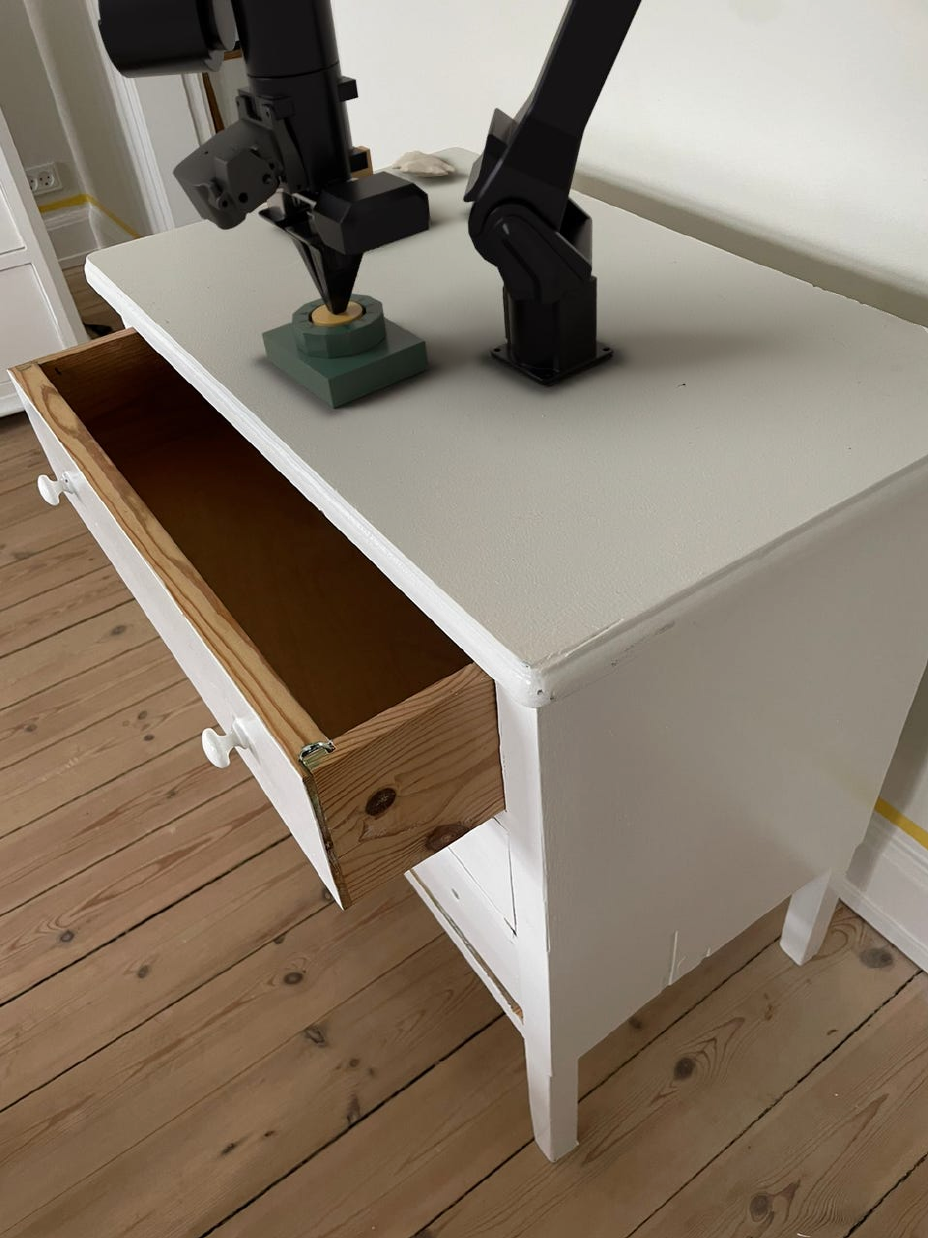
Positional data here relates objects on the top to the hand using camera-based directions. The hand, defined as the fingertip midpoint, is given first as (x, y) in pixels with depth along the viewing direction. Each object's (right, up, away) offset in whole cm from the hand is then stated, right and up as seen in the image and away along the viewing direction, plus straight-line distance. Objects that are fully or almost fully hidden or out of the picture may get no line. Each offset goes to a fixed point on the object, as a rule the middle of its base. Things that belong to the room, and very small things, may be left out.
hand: (337, 311), depth 69 cm
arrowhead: (+5, +23, +30) cm, 38 cm away
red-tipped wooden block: (-2, +18, +22) cm, 29 cm away
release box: (0, -3, +3) cm, 4 cm away
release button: (0, -1, +1) cm, 2 cm away
